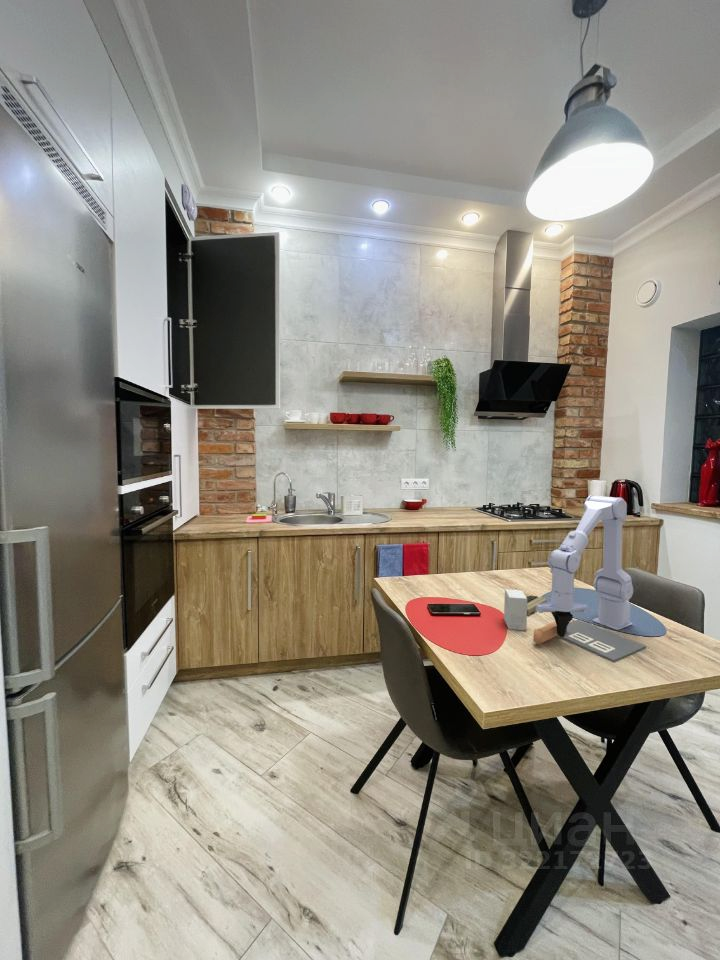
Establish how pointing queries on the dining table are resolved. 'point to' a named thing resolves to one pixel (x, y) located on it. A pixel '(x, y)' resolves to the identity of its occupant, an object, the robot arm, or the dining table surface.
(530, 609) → the brown flat block
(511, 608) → the small box
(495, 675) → the dining table surface
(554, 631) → the swing bar
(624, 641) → the board
